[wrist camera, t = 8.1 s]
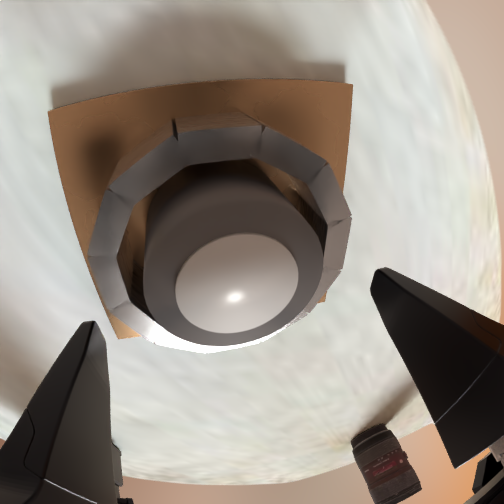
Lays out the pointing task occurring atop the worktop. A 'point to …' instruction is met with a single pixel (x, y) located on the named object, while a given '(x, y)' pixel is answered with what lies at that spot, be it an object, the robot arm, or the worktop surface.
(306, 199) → the ring mount
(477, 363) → the robot arm
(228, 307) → the gray tapered cylinder
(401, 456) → the camera lens
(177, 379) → the worktop surface
